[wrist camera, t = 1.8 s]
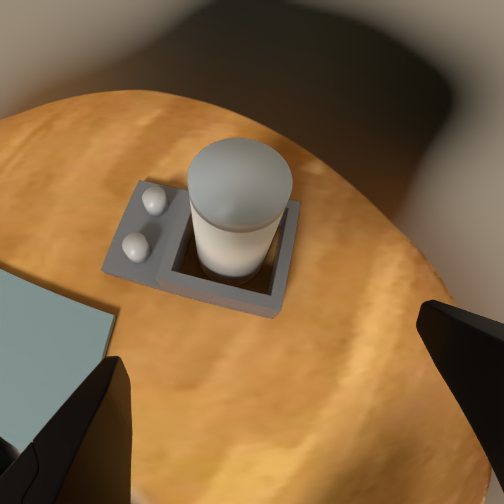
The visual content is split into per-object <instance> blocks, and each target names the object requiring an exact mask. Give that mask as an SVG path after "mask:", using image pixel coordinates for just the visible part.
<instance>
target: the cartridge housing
mask: <svg viewBox="0 0 504 504" xmlns="http://www.w3.org/2000/svg"><path fill="white" fill-rule="evenodd" d="M300 205H301V202H299V201H295V200H291V199H289V200H288V202H287V205H286V207H285V210H284V212H283V215H282V217H281V220H280V222H279V225H278V226H280V227H281V229H280V234H279V239H278V244H277V248H276V253H275V258H274V263H273V268H272V272H271V277H270V282H269V286H268V291H267V295H265V294H261V293H257V292H253V291H249V290H245V289H240V288H236V287H232V286H228V285H224V284H221V283H217V282H213V281H209V280H205V279H201V278H197V277H193V276H190V275H186V274H182V273H180V271H181V268H182V265H183V262H184V258H185V255H186V252H187V249H188V246H189V243H190V240H191V237H192V234H193V231H194V227H193V219H192V212H191V205H190V197H189V189H188V190H184V189H179V188H174V187H170V186H165V185H160V184H156V183H151V182H146V181H141V180H139V182H138V184H137V186H136V188H135V190H134V192H133V194H132V197H131V199H130V201H129V203H128V205H127V208H126V210H125V212H124V214H123V217H122V219H121V221H120V224H119V226H118V228H117V231H116V233H115V236H114V238H113V241H112V243H111V246H110V248H109V251H108V253H107V256H106V258H105V261H104V264H103V266H102V269H101V270H102V271H103V272H104V273H106V274H109V275H112V276H115V277H119V278H122V279H125V280H128V281H132V282H135V283H138V284H142V285H145V286H149V287H152V288H155V289H159V290H162V291H166V292H169V293H173V294H177V295H180V296H184V297H188V298H191V299H195V300H199V301H203V302H206V303H210V304H214V305H218V306H222V307H226V308H230V309H234V310H238V311H242V312H246V313H250V314H255V315H259V316H263V317H267V318H272V319H273V318H274V317H275V316H276V315H277V314H278V313H279V312H280V311H281V308H282V303H283V298H284V293H285V287H286V282H287V277H288V272H289V267H290V261H291V256H292V250H293V245H294V239H295V234H296V228H297V222H298V217H299V211H300Z"/></svg>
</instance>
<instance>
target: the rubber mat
mask: <svg viewBox="0 0 504 504" xmlns="http://www.w3.org/2000/svg"><path fill="white" fill-rule="evenodd" d="M115 320H116V316H114V315H112V314H109V313H106V312H103V311H101V310H98V309H95V308H92V307H90V306H87V305H84V304H82V303H79V302H76V301H74V300H71V299H69V298H66V297H64V296H61V295H59V294H56V293H54V292H51V291H49V290H46V289H44V288H42V287H39V286H37V285H35V284H32V283H30V282H28V281H26V280H23V279H21V278H19V277H17V276H14V275H12V274H10V273H8V272H6V271H4V270H2V269H0V437H2V438H3V439H4V440H6V441H7V442H9V443H10V444H12V445H13V446H15V447H16V448H18V449H19V450H21V451H22V452H23V451H24V449H25V448H26V447H27V446H28V445H29V443H30V442H33V439H34V438H35V436H36V435H37V434H38V433H39V432H40V430H41V429H42V428H43V427H44V426H45V424H46V423H47V422H48V421H49V420H50V419H51V417H52V416H53V415H54V414H55V413H56V412H57V410H58V409H59V408H60V407H61V406H62V405H63V403H64V402H65V401H66V400H67V399H68V398H69V397H70V395H71V394H72V393H73V392H74V391H75V390H76V389H77V387H78V386H79V385H80V384H81V383H82V382H83V381H84V379H85V378H86V377H87V376H88V375H89V374H90V373H91V372H92V370H93V369H94V368H95V367H96V366H97V365H98V364H99V363H100V362H101V360H102V359H103V358H104V357H105V355H106V351H107V348H108V344H109V340H110V337H111V333H112V330H113V326H114V323H115Z"/></svg>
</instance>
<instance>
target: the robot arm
mask: <svg viewBox="0 0 504 504" xmlns="http://www.w3.org/2000/svg"><path fill="white" fill-rule="evenodd" d="M416 328H417V331H418V333H419V335H420V337H421V338H422V340H423V342H424V344H425V346H426V348H427V350H428V352H429V354H430V356H431V358H432V360H433V362H434V364H435V366H436V367H437V369H438V371H439V372H440V374H441V375H442V377H443V379H444V380H445V382H446V384H447V385H448V387H449V389H450V390H451V392H452V394H453V395H454V397H455V399H456V400H457V402H458V404H459V406H460V407H461V409H462V411H463V413H464V414H465V416H466V418H467V420H468V421H469V423H470V425H471V427H472V429H473V431H474V432H475V434H476V436H477V438H478V440H479V442H480V444H481V446H482V448H483V450H484V452H485V454H486V456H487V457H488V460H489V462H490V464H491V466H492V468H493V470H494V472H495V475H496V477H497V479H498V481H499V483H500V486H501V487H502V490H503V492H504V324H503V323H500V322H497V321H494V320H491V319H488V318H486V317H483V316H480V315H477V314H474V313H471V312H468V311H465V310H462V309H460V308H457V307H454V306H451V305H448V304H445V303H442V302H439V301H436V300H429V301H426V302H423V303H422V305H421V307H420V311H419V315H418V318H417V322H416ZM131 453H132V415H131V386H130V379H129V376H128V374H127V371H126V369H125V366H124V364H123V362H122V359H121V358H120V357H119V356H107V357H104V358H103V359H102V360H101V362H100V363H99V364H98V365H97V366H96V367H95V368H94V369H93V370H92V372H91V373H90V374H89V375H88V376H87V377H86V378H85V379H84V381H83V382H82V383H81V384H80V385H79V386H78V387H77V389H76V390H75V391H74V392H73V393H72V394H71V395H70V397H69V398H68V399H67V400H66V401H65V402H64V403H63V405H62V406H61V407H60V408H59V409H58V410H57V412H56V413H55V414H54V415H53V416H52V417H51V419H50V420H49V421H48V422H47V423H46V424H45V426H44V427H43V428H42V429H41V430H40V432H39V433H38V434H37V435H36V436H35V438H34V439H33V442H30V443H29V445H28V446H27V447H26V448H25V449H24V451H23V452H22V453H21V454H20V455H19V456H18V458H17V459H16V460H15V461H14V462H13V463H12V465H11V466H10V467H9V468H8V469H7V470H6V471H5V472H4V473H3V474H2V475H1V476H0V504H131Z"/></svg>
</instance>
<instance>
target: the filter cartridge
mask: <svg viewBox="0 0 504 504" xmlns="http://www.w3.org/2000/svg"><path fill="white" fill-rule="evenodd" d="M292 186H293V179H292V174H291V171H290V168H289V166H288V164H287V162H286V161H285V160H284V158H283V157H282V156H281V155H280V154H279V153H278V152H277V151H276V150H274V149H273V148H271V147H270V146H268V145H266V144H264V143H262V142H259V141H256V140H252V139H247V138H229V139H224V140H220V141H217V142H214V143H212V144H210V145H208V146H207V147H205V148H204V149H202V150H201V151H200V152H199V153H198V154H197V155H196V156H195V158H194V159H193V161H192V163H191V165H190V167H189V170H188V189H189V197H190V205H191V212H192V219H193V227H194V234H195V240H196V247H197V254H198V260H199V264H200V266H201V268H202V270H203V272H204V273H205V274H206V275H207V276H208V277H209V278H210V279H211V280H213V281H214V282H217V283H221V284H224V285H228V286H236V285H241V284H244V283H246V282H248V281H250V280H251V279H252V278H254V277H255V276H256V275H257V273H258V272H259V270H260V269H261V266H262V264H263V262H264V259H265V257H266V254H267V252H268V249H269V247H270V244H271V242H272V239H273V237H274V235H275V232H276V230H277V227H278V225H279V222H280V220H281V217H282V215H283V212H284V210H285V207H286V205H287V202H288V200H289V197H290V195H291V191H292Z"/></svg>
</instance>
